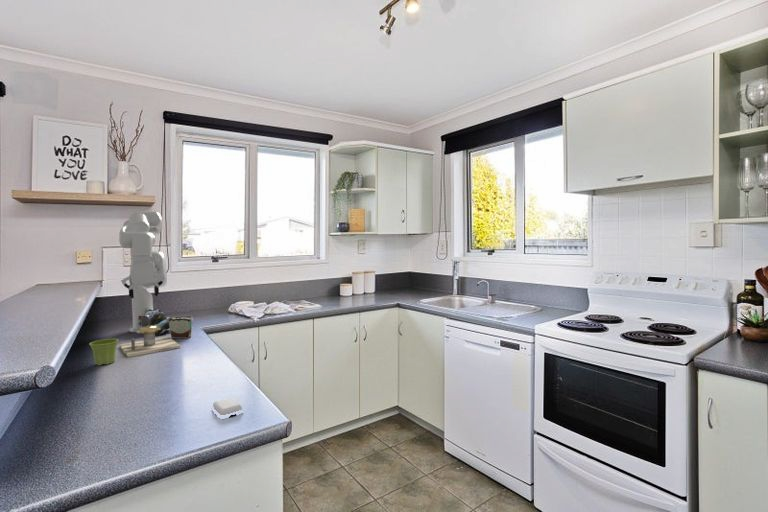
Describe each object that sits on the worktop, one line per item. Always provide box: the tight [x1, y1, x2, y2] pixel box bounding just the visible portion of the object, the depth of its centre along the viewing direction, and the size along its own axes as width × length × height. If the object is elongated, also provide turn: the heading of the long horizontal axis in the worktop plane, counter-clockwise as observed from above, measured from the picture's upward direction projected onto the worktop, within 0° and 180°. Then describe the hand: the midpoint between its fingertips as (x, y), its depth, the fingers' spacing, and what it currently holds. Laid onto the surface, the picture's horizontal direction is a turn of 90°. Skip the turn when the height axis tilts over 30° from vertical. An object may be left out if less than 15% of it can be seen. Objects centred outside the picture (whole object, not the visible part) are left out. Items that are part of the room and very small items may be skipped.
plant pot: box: [88, 338, 119, 366], centre depth 159 cm, size 9×9×9 cm
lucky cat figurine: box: [138, 308, 170, 337], centre depth 208 cm, size 15×12×14 cm
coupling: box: [136, 315, 161, 334], centre depth 183 cm, size 12×9×6 cm
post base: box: [119, 332, 181, 358], centre depth 181 cm, size 20×20×7 cm
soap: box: [212, 397, 243, 415], centre depth 115 cm, size 9×7×3 cm
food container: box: [168, 314, 194, 339], centre depth 200 cm, size 12×6×10 cm, turn 84°
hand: (144, 296), depth 186 cm, fingers open, 9 cm apart
